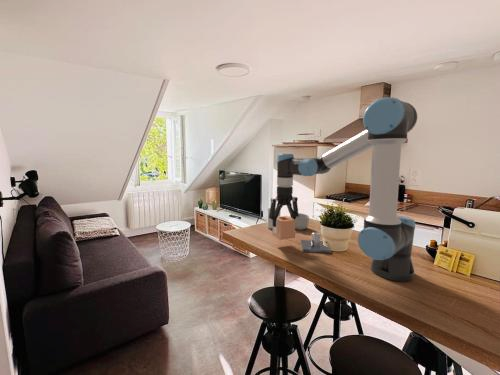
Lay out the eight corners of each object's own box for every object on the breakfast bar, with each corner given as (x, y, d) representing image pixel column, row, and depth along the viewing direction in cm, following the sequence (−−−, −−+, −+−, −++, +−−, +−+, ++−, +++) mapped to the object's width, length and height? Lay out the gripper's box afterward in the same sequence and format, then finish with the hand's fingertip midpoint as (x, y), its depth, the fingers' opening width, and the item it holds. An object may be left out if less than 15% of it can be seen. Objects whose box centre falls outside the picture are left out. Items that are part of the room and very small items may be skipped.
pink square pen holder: (294, 237, 124) (295, 219, 123) (280, 239, 121) (280, 221, 120) (286, 232, 131) (286, 215, 130) (272, 234, 128) (272, 216, 127)
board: (331, 253, 119) (332, 238, 118) (302, 251, 120) (303, 236, 119) (326, 243, 131) (327, 230, 129) (300, 242, 132) (301, 228, 131)
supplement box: (279, 225, 159) (280, 205, 157) (279, 229, 152) (280, 208, 150) (267, 224, 160) (268, 205, 158) (267, 228, 153) (268, 208, 151)
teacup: (305, 225, 160) (306, 213, 159) (310, 231, 150) (311, 218, 148) (283, 225, 160) (284, 213, 158) (287, 231, 149) (288, 217, 148)
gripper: (298, 184, 130) (297, 227, 133) (261, 186, 122) (261, 232, 125) (307, 186, 123) (305, 231, 126) (269, 188, 115) (268, 236, 118)
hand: (283, 231), depth 126 cm, fingers closed on pink square pen holder, 8 cm apart
